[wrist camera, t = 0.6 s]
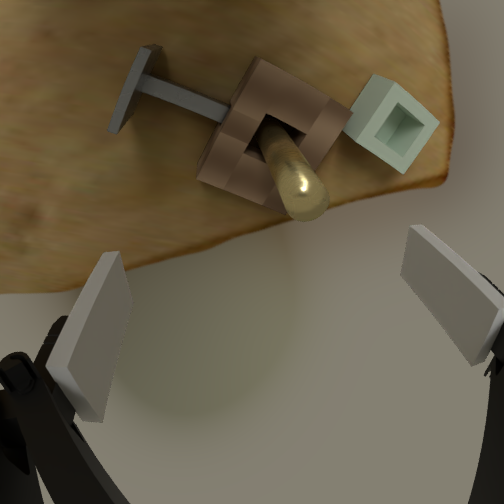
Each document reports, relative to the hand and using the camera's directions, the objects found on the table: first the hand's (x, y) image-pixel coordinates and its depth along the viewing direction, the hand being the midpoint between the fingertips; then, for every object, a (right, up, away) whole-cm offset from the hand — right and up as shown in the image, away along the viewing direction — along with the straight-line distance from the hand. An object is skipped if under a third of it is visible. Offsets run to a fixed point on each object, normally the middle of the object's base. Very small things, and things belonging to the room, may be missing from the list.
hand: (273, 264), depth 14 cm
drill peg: (+1, +14, +21) cm, 25 cm away
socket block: (+1, +14, +21) cm, 25 cm away
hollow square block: (+15, +17, +21) cm, 30 cm away
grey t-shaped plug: (-8, +17, +16) cm, 25 cm away
